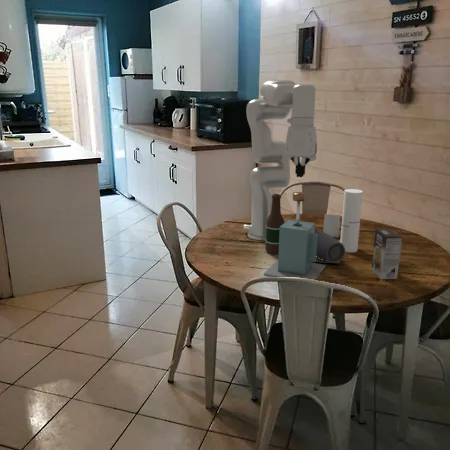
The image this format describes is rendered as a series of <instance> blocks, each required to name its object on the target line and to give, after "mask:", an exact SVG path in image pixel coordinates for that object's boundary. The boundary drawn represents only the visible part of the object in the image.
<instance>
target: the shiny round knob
mask: <svg viewBox="0 0 450 450" xmlns="http://www.w3.org/2000/svg"><path fill="white" fill-rule="evenodd" d="M292 201H294V202H296V215H295V216H296V217H295V221H296V226H298V227H299V221H301V220H300V218H301V217H300V216H301V202H304V201H306V192H304V191H294V192H292Z"/></svg>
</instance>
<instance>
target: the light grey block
mask: <svg viewBox="0 0 450 450" xmlns="http://www.w3.org/2000/svg"><path fill="white" fill-rule="evenodd" d="M323 217H324V219H323V220H324V221H323V231H322V232H324V233H326V234H328V235H330V236H331V237H333V238H339V237H340V235H339V234H340V223H341V214H330V213H329V214H328V213H324V216H323Z"/></svg>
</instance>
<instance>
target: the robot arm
mask: <svg viewBox="0 0 450 450" xmlns="http://www.w3.org/2000/svg"><path fill="white" fill-rule="evenodd" d="M259 89H260V91H259V94H260V96H261V98H257V99H256V98H255V99H252V100H250V101H249V102H248V103H247V104H246V110H245V111H246V119H247V122H248V125H249V128H250V133H251V152H252V153H251V154H252V160H253V162H254V163H255V164H276V166H275V165H274V166H257V167H255V168H253V169H252V170H251V171H250V174H249V180H250V181H249V182H250V187H251V220H250V222H251V224H250V225H248V224H243V225H242V226H243V231H248V232H247V237H248V238H249V239H252V240H256V241H265V238H266V220H267V218H268V216H269V215H270V213H271V207H272V195H273V194H272V193H271V192H270V191H269V189H282V188H284V189H285V188H287V187H288V186H289V185H290V183H291V169H290V168H291V166H290V165H291V164H290V161H292V163H293V164H294V166H295V170H294V171H295V172H294V173H295V175H296V178H302V177H304V176H305V174H306V166H307V164H309V163H310V162H313V161H316V160H317V151H318V140H317V129H316V126H314V125H315V108H316V92H317V91H316V86H315V85H314V84H306V83H295V81H293V80H291V79H289V80H288V79H280V80H279V79H274V80H273V79H270V80H267V81H265V82H264V83H263V84H262V85H261V87H260V88H259ZM290 112H291V117H290V118H287V117H288V116H289V115H290ZM286 118H287V121H286V122H287V123H288V124H290V126H288V127H287V134H286V139H285V141H281V140H274V141H273V140H272V131H271V130H272V129H271V128H270V126H269V125H268V123H267V122H266V121H265V120H271V121H272V120H285V119H286Z"/></svg>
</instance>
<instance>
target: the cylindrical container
mask: <svg viewBox="0 0 450 450" xmlns="http://www.w3.org/2000/svg"><path fill="white" fill-rule="evenodd" d="M363 193H364V191H363V190H361V189H355V188H349V189H348V188H347V189H344V192H343V204H342V215H341V216H342V218H341V227H340V228H341V230H340V241H339V242H341V243H342V244H343V245H344V247H345V253H356V252H358V248H359V247H358V246H359V237H360V226H361V225H360V224H361V214H362V203H363Z"/></svg>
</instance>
